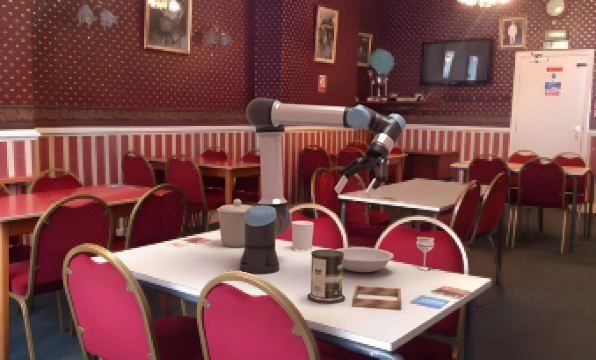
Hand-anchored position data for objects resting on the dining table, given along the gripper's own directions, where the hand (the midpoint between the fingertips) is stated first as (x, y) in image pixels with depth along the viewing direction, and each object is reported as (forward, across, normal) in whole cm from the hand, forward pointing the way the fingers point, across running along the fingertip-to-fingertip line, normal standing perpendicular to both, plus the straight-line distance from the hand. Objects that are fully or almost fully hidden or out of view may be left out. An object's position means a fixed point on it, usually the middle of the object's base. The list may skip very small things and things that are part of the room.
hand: (351, 193), depth 198 cm
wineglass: (-6, -5, -51) cm, 52 cm away
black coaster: (+36, -6, -9) cm, 37 cm away
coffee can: (+36, -6, -9) cm, 37 cm away
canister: (+15, +75, -30) cm, 82 cm away
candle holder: (+2, +50, -43) cm, 66 cm away
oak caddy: (+29, -19, -16) cm, 38 cm away
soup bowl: (+10, +9, -36) cm, 38 cm away
